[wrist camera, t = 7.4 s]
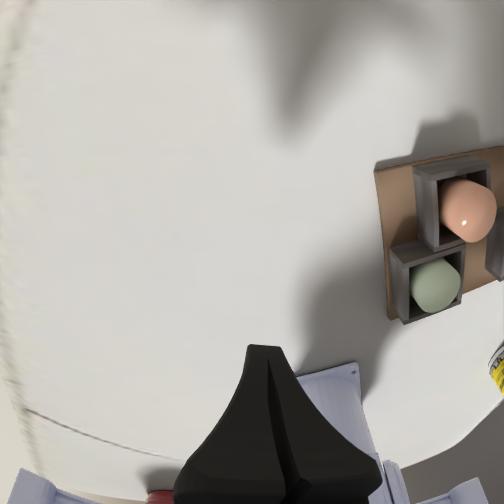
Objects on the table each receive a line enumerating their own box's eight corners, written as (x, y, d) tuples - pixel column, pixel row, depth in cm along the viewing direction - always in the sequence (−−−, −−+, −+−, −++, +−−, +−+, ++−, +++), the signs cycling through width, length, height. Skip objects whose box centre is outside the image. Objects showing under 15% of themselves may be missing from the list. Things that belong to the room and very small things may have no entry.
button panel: (515, 266, 22) (533, 281, 19) (387, 316, 24) (401, 339, 21) (521, 143, 17) (545, 150, 14) (373, 171, 19) (393, 182, 16)
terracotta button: (473, 220, 18) (495, 234, 16) (435, 232, 18) (455, 248, 16) (472, 172, 17) (496, 182, 14) (433, 181, 17) (455, 192, 15)
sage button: (442, 285, 21) (458, 303, 19) (403, 298, 22) (417, 319, 19) (443, 245, 20) (462, 261, 17) (402, 258, 20) (418, 276, 18)
